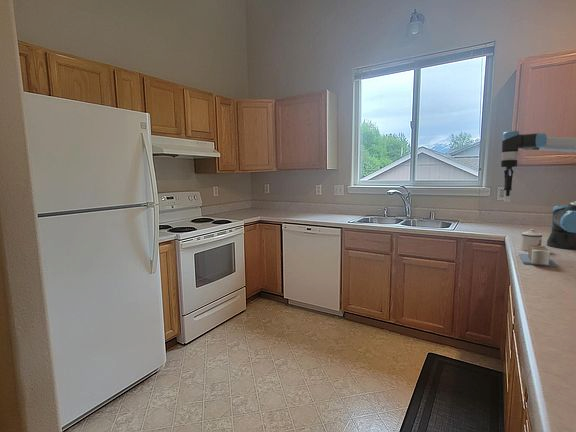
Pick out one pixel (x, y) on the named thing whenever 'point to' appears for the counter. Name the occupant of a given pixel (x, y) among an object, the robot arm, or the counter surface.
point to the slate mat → (527, 261)
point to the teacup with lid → (530, 239)
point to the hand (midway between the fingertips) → (507, 201)
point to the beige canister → (538, 254)
